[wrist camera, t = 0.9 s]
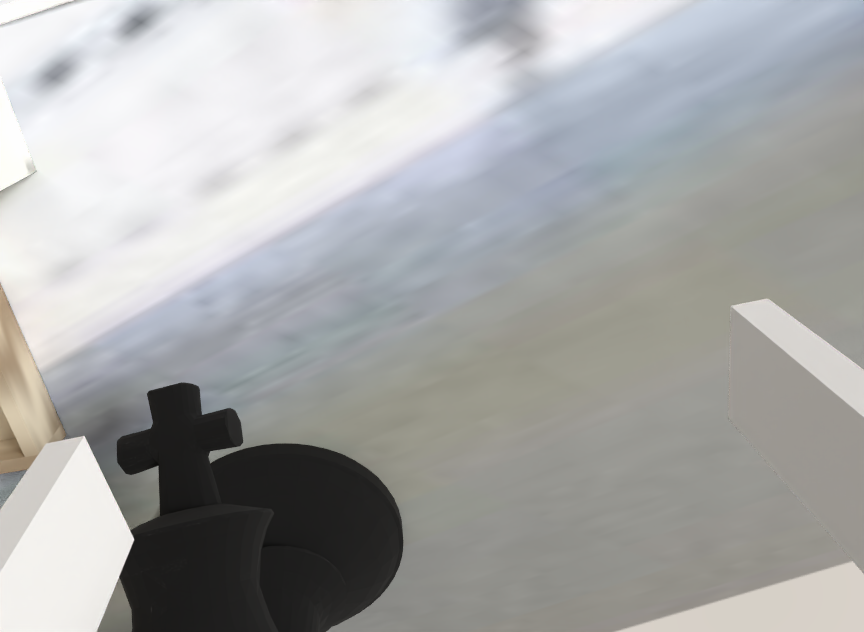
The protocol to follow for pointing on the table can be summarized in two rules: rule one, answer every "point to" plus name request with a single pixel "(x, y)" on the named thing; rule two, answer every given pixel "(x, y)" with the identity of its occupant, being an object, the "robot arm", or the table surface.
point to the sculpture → (251, 528)
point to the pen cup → (12, 145)
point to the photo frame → (26, 8)
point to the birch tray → (22, 399)
